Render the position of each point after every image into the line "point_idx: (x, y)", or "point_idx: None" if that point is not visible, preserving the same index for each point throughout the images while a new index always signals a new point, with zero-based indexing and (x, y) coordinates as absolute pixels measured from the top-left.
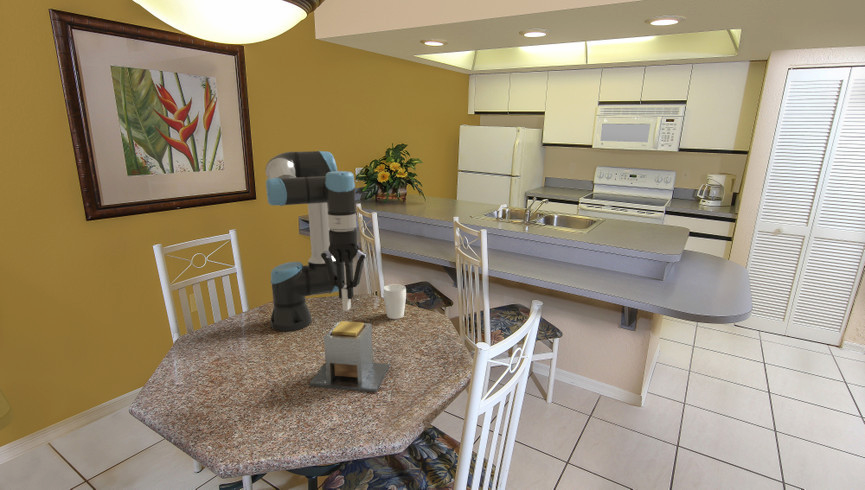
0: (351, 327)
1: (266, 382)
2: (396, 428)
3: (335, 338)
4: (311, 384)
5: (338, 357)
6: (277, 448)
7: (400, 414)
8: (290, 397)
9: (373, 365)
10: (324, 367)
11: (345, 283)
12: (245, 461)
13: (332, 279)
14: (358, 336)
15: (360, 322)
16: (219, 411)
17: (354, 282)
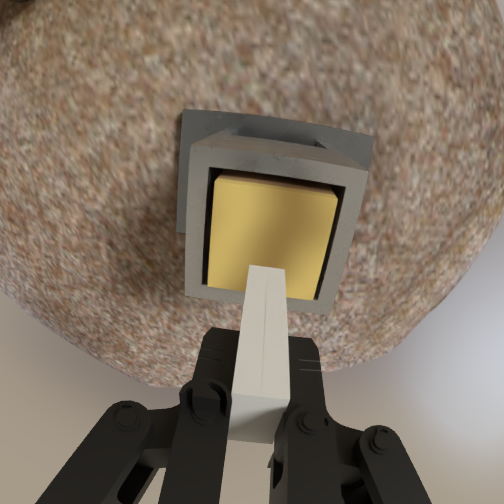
0: (285, 252)
1: (85, 217)
2: (376, 342)
3: (232, 300)
4: (183, 231)
5: None
6: None
7: (387, 313)
8: (158, 268)
9: (329, 142)
10: (186, 156)
11: (230, 401)
12: (177, 386)
13: (125, 491)
14: (322, 293)
15: (321, 196)
16: (74, 300)
17: (349, 497)
